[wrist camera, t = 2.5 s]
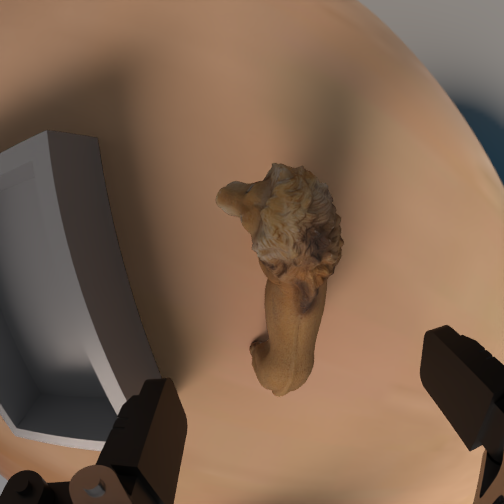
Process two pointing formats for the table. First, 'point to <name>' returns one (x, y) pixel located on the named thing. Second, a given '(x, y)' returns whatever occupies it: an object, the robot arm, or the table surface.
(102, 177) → the bin
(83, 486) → the robot arm
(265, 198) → the lion figurine
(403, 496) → the table surface
